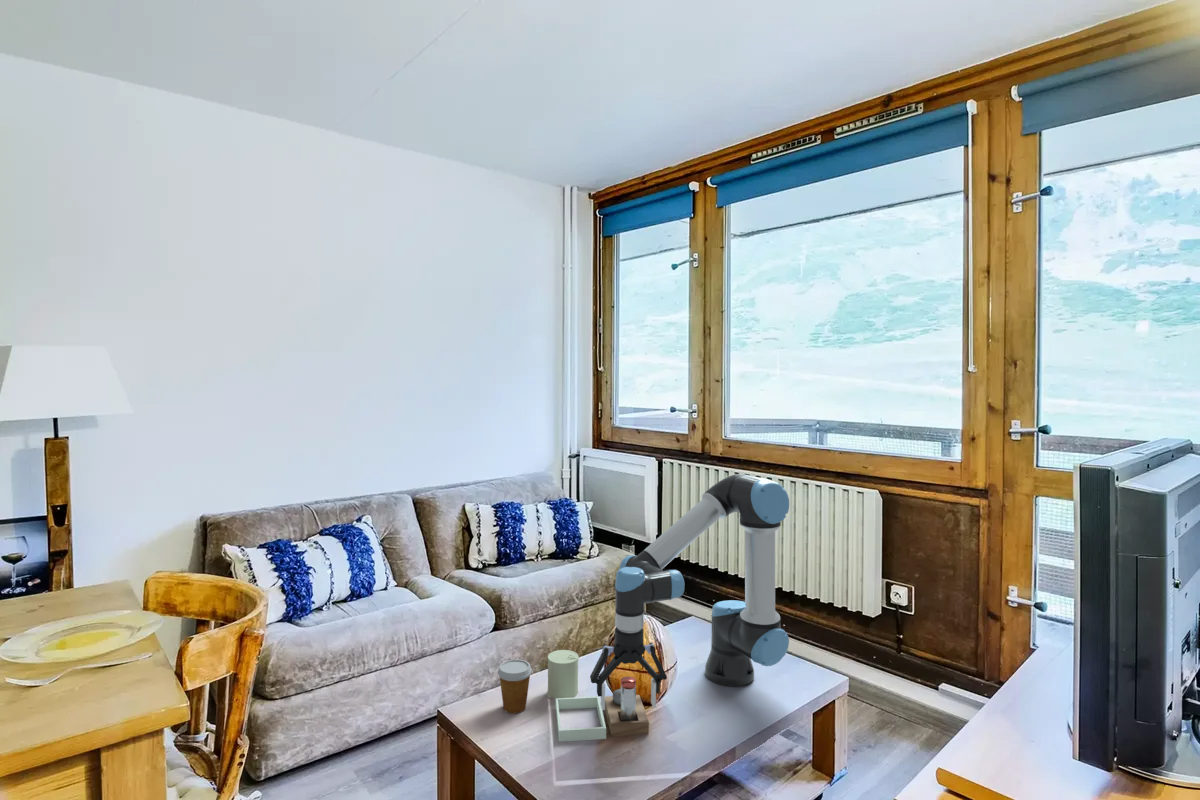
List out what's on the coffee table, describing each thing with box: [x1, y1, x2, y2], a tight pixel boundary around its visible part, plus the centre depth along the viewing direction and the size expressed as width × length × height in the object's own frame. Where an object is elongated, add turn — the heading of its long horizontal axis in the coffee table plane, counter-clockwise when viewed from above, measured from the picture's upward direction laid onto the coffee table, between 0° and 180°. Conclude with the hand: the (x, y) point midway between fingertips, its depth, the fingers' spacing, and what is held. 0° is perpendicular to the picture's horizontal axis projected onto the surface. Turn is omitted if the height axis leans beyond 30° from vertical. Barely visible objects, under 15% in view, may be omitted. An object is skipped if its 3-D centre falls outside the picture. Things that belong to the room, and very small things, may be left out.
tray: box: [555, 695, 607, 742], centre depth 174 cm, size 16×12×4 cm
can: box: [546, 649, 580, 700], centre depth 190 cm, size 9×9×12 cm
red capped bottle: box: [620, 675, 637, 722], centre depth 171 cm, size 4×4×13 cm
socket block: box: [604, 688, 650, 737], centre depth 175 cm, size 14×10×7 cm
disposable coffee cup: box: [497, 658, 533, 714], centre depth 182 cm, size 10×10×12 cm
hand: (628, 706), depth 171 cm, fingers open, 13 cm apart
